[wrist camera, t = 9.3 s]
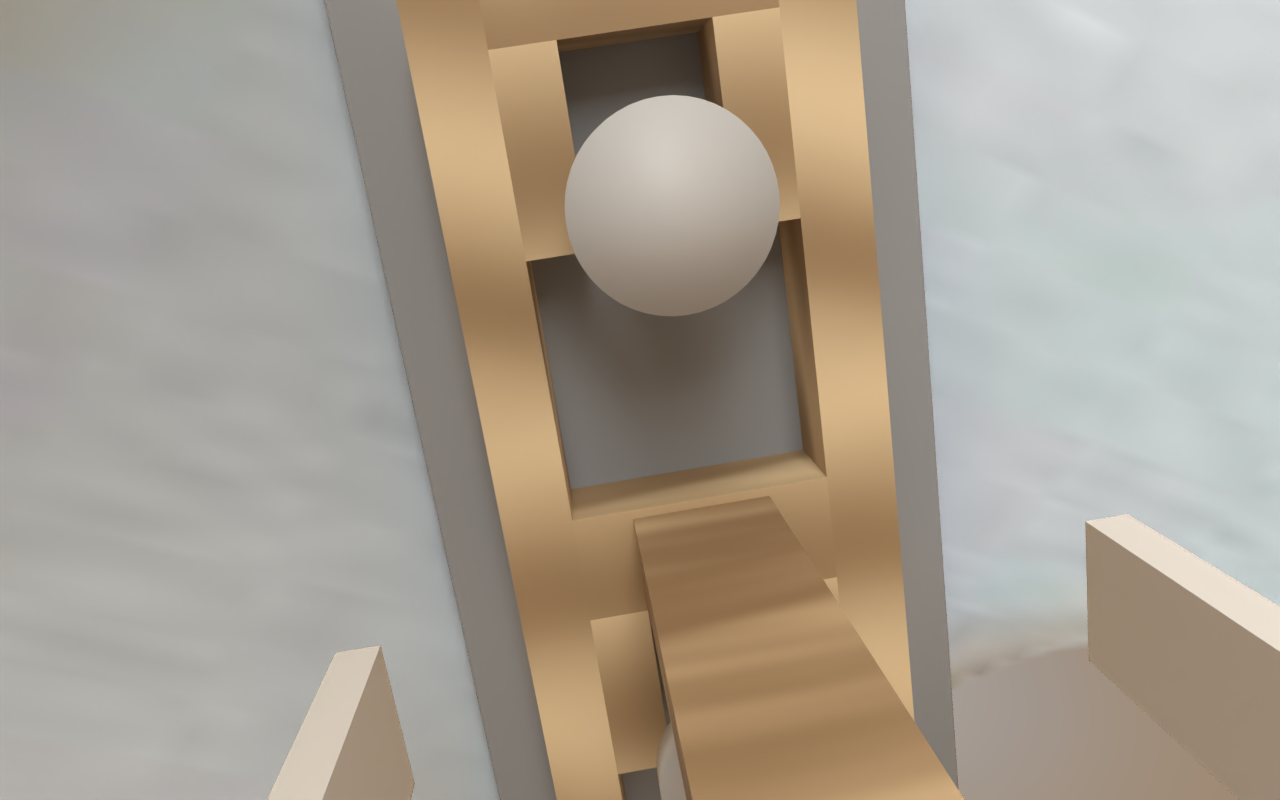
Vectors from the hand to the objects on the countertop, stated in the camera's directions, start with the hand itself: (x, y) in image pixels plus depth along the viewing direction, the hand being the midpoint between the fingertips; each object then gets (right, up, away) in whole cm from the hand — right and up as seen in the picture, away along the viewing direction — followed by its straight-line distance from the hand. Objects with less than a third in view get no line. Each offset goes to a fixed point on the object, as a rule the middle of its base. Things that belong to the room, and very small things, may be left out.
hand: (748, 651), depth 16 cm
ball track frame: (-1, +2, +6) cm, 6 cm away
